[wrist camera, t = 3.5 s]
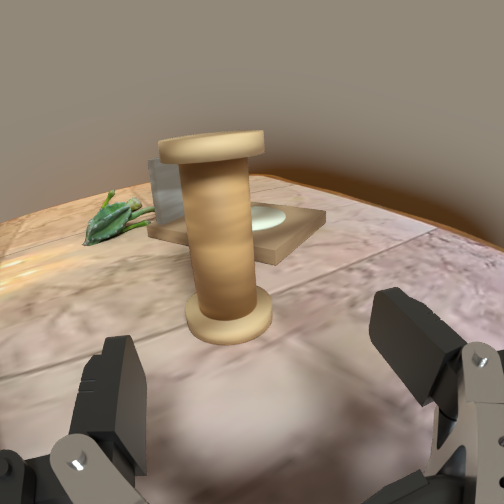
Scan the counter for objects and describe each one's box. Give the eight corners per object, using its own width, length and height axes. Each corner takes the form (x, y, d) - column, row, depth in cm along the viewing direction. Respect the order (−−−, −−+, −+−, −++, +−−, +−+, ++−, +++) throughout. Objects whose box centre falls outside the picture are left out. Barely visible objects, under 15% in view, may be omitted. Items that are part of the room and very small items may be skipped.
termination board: (148, 236, 38) (136, 162, 34) (213, 207, 48) (207, 145, 44) (275, 265, 29) (271, 160, 25) (325, 222, 39) (325, 146, 35)
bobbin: (170, 326, 21) (136, 144, 16) (221, 288, 26) (205, 132, 21) (240, 356, 18) (218, 137, 13) (287, 307, 23) (282, 129, 18)
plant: (194, 217, 47) (190, 175, 44) (103, 256, 35) (92, 205, 32) (138, 207, 55) (134, 173, 52) (61, 236, 43) (53, 197, 40)
